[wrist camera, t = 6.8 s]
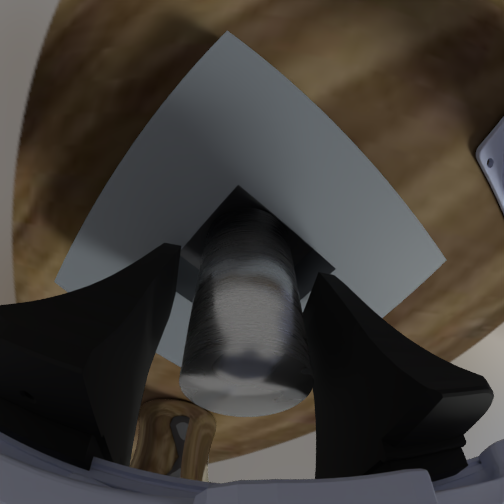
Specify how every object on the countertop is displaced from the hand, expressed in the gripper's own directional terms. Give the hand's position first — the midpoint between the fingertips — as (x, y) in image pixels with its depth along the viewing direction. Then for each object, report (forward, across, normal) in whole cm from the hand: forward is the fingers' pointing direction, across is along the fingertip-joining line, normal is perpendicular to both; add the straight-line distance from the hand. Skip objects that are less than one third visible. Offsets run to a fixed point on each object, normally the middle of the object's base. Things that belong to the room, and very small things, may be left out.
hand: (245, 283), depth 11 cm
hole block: (+4, 0, 0) cm, 4 cm away
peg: (+3, 0, 0) cm, 3 cm away
